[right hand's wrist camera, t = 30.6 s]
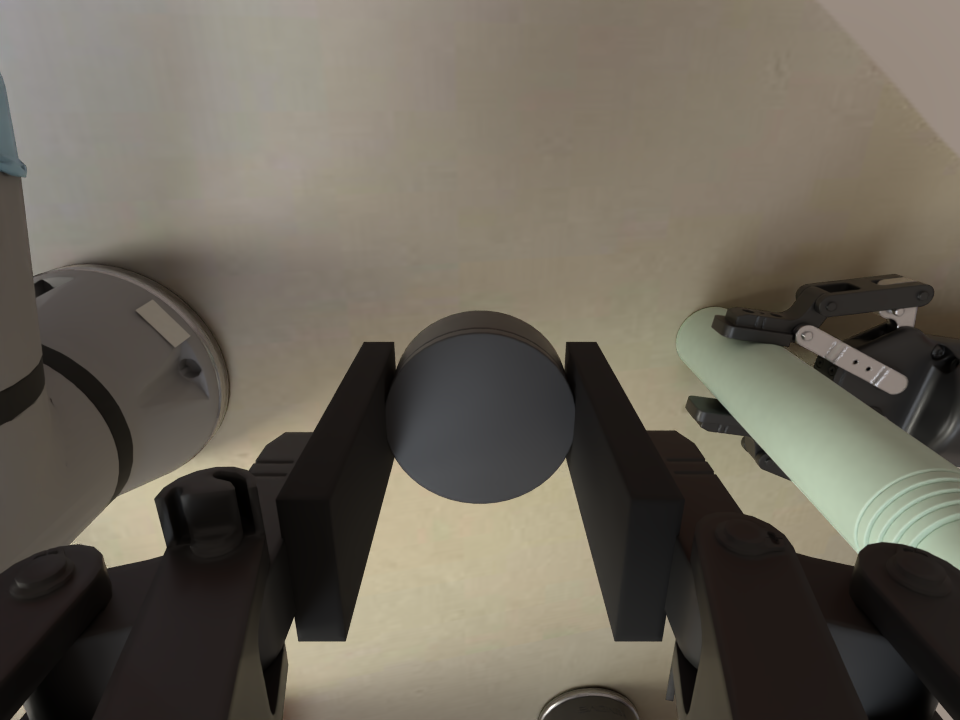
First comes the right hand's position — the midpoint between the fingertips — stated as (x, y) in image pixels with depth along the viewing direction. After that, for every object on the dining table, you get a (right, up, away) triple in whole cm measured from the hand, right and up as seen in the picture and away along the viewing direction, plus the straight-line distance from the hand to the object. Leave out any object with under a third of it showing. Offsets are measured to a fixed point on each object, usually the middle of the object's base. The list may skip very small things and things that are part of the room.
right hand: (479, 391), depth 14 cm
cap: (0, 0, -1) cm, 1 cm away
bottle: (+16, +2, +24) cm, 29 cm away
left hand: (+13, 0, +18) cm, 22 cm away
